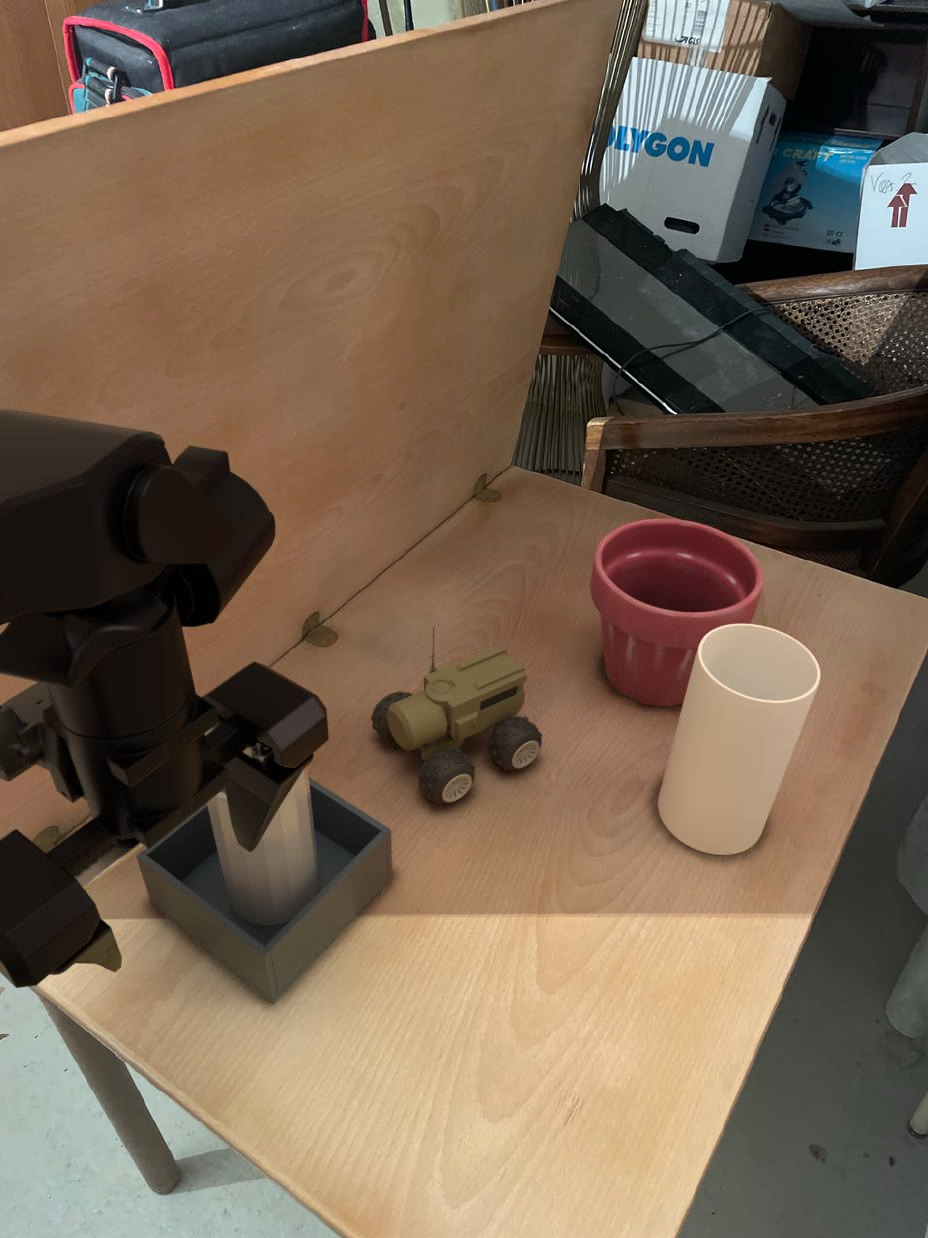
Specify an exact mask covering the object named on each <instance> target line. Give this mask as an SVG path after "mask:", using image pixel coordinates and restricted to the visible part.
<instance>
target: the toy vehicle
mask: <svg viewBox="0 0 928 1238" xmlns="http://www.w3.org/2000/svg"><path fill="white" fill-rule="evenodd" d="M435 657H436V655H435V626H434V627H432V655H431V656H430V659H431V665H430V667H428V673H427V674H425V675H423V690H421V691H419V692H417V693H413V694H412V693H411V692H409V691H407V692H405V691H401V690H399V691H395V692H392V693H389V694H388V695H386V696H384V697H383V698H382V699H381V700H379V701H378V703H377V704H376V705H375V707H374V709H373V711H372V714H371V716H370V718H371V723H372V724H371V727H372V730H375V731H376V732H377V733H376V735H377V736H378V737H379V738H380V739H381V740H384V743H386V744H387V745H390V744H391V745H398V746H399V747H401V748H402V749H404V750H406V751H410V752H411V751H414V750H417V749H418V748H419V750H420V751H421V754H420V757H421V759H422V760H423V763H422V765H421V767H420V768H419V771H418V774H417V777H418V783H417V785H418V786H419V789H422V790H423V794H424V796H425V797H426V798H427V799H428V800H431V801H432V803H433V804H435V805H438V804H439V805H448V804H451V803H454V802H455V801H458V800H459V799H461V798H462V797H464V795H466V794H467V792H468V791H469V790H470V789H471V787H472V786H473V783H474V780H475V777H476V775H475V773H476V772H475V769H476V766H475V765H474V763H471V760H470V757H469V756H468V755H467V754H465V753H464V752H462V750H461V749H460V747H461V745H463V743H464V741H465V739H467V738H469V737H471V736H473V735H476V734H478V733H480V732H482V731H484V730H489V729H491V728H493V729H492V732H491V734H490V735H489V738H488V741H487V748H488V749H487V753H488V755H489V756H491V758H492V760H493V761H494V763H495V764H497V765H498V766H500V768H501V769H502V770H504V771H507V770H508V771H517V770H520V769H522V768H524V767H526V766H528V765H530V764H531V763H532V762H533V761H534V760H535V758H536V757H537V756H538V754H539V753H540V750H541V747H542V743H543V739H542V737H543V734H542V732H541V731H539V728H538V726H537V724H535V723H534V722H531V721H530V719H529V718H528V717H527V716H520V715H518V713H519V712H520V711H521V709H522V707H523V706H524V704H525V697H526V691H525V690H524V684H525V683H526V682H527V681H528V674H527V673H526V669H525V668H524V667H523V666H522V665H520V664H517V663H516V662H515V661H514V660H513V659H511V658H510V656H508V655H507V650H505V648H503V647H502V646H498V645H495V646H493V647H491V648H488V649H486V650H483V651H481V652H478V653H476V654H474V655H473V654H472V655H471V656H469V657H466V658H464V659H461V660H459V661H456V662H454V663H451V664H450V665H447V666H444V667H442V668H440V669H438V668H437V666H435ZM440 738H441V739H440ZM438 739H439V740H438ZM435 740H437V741H435ZM433 741H435V742H433ZM432 742H433V743H432ZM430 743H432V744H431V745H428V746H427V744H430Z"/></svg>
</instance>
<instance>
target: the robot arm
mask: <svg viewBox="0 0 928 1238" xmlns="http://www.w3.org/2000/svg"><path fill="white" fill-rule="evenodd" d="M230 465H231V464H230V459H229V453H228V452H227V451H226V450H220V449H214V448H207V447H201V446H196V445H188V446H187V447H186V448H185V449H184V450H183V451H182V452H180V453H179V455H178V456H177V457H176V458H175V460H173V462H172V459H171V457H170V454H169V452H168V449H167V448H166V441H164V438H163V437H162V435H161V434H158V433H156V432H153V431H150V430H143V429H137V428H130V427H123V426H117V425H111V424H104V423H99V422H93V421H86V420H81V419H80V420H79V419H74V418H68V417H63V416H56V415H55V416H54V415H49V414H42V413H37V412H30V411H23V410H18V409H12V408H0V626H3V625H6V624H7V625H6V626H5V628H4V629H3V630H2V631H1V632H0V675H5V676H9V677H14V678H18V679H23V680H27V681H33V682H36V683H34V684H32V685H31V686H29V687H27V688H25V689H24V690H22V691H20V692H19V693H17V694H16V695H14V696H12V697H11V698H9V699H7V700H6V701H5V702H3V703H2V704H0V779H1V780H2V781H5V782H11V781H13V780H15V779H16V778H17V777H19V776H20V775H22V774H24V773H26V771H28V770H30V769H31V768H32V767H34V766H38V767H40V768H42V769H45V770H47V771H49V774H50V776H51V779H52V781H53V785H54V787H55V790H56V792H57V793H59V794H60V795H61V796H62V797H64V798H65V799H66V800H68V801H69V802H70V803H72V804H75V803H76V802H77V801H78V800H80V799H81V798H82V799H84V800H85V801H86V804H87V807H88V810H89V813H90V815H91V817H92V819H91V820H89V821H88V822H86V823H85V824H84V825H83V826H81V827H80V828H79V829H76V831H75V832H73V833H72V834H70V835H69V836H68V837H66V838H65V839H64V840H62V841H61V842H60V843H58V844H57V845H55V846H54V847H53V848H51V849H50V850H49V851H47V852H45V851H43V849H41V848H40V847H39V846H38V845H37V844H36V843H34V842H33V841H32V840H30V839H29V838H28V837H27V836H25V834H23V833H22V832H21V831H20V830H19V829H17V828H16V829H14V830H11V831H9V832H7V833H6V834H5V835H3V836H2V837H1V838H0V974H1V975H2V976H3V977H4V978H5V979H6V980H7V981H8V982H9V983H11V985H12V986H14V987H15V989H19V988H29V987H35V986H38V985H39V984H40V983H42V982H43V981H44V980H45V979H46V978H47V977H48V976H50V975H52V976H58V975H61V974H63V973H66V971H68V970H69V969H70V968H71V967H72V966H74V965H76V964H82V965H83V964H84V965H85V964H87V965H91V964H92V965H96V966H97V965H98V966H99V967H102V968H104V969H106V970H108V971H110V972H112V973H117V972H118V971H119V970H120V969H121V968H122V964H123V963H122V962H123V957H122V954H121V951H120V948H119V946H118V943H117V940H116V937H115V933H114V931H113V929H112V927H111V926H110V924H108V923H107V922H106V921H105V920H103V919H102V917H101V915H100V912H99V910H98V907H97V904H96V903H95V901H94V900H93V899H92V897H91V896H90V895H89V894H88V891H89V890H90V889H92V888H93V887H94V886H95V885H96V884H98V883H99V882H100V881H101V880H103V879H104V878H105V877H106V876H107V875H109V874H110V873H111V872H113V871H114V870H115V869H116V868H117V867H119V866H120V865H121V864H122V863H124V862H125V861H127V860H128V859H129V858H130V857H131V856H133V855H134V854H135V853H136V852H138V851H139V850H140V849H142V847H146V848H148V849H150V848H151V847H152V846H154V845H155V844H156V843H157V842H159V841H160V840H161V839H162V838H164V837H165V836H166V835H167V834H169V833H170V832H171V831H172V830H174V829H175V828H176V827H177V826H179V825H180V824H181V823H182V822H183V821H185V820H186V819H187V818H188V817H190V816H191V815H192V814H193V813H195V812H196V811H197V810H198V809H200V808H201V807H202V806H203V805H205V804H206V803H207V802H208V801H210V800H211V799H212V798H213V797H215V796H216V795H217V794H218V793H220V792H221V791H222V790H223V789H225V792H226V797H227V803H228V808H229V813H230V819H231V824H232V828H233V831H234V833H235V836H236V839H237V842H238V844H239V845H240V846H242V847H243V848H244V849H246V850H247V851H249V852H252V851H253V850H254V849H255V848H256V847H257V845H258V843H259V842H260V840H261V838H262V836H263V835H264V833H265V831H266V830H267V828H268V826H269V824H270V823H271V821H272V819H273V817H274V816H275V814H276V812H277V811H278V809H279V807H280V806H281V804H282V802H283V801H284V799H285V798H286V796H287V795H288V793H289V792H290V790H291V788H292V787H293V785H294V784H295V782H296V781H297V779H298V778H299V776H300V775H301V773H302V771H303V770H304V769H305V768H306V767H308V766H309V765H310V764H311V763H312V762H313V760H314V757H315V756H314V755H315V754H314V753H315V752H316V751H318V750H319V749H320V748H321V747H322V746H323V745H324V744H326V743H327V742H328V741H329V740H330V737H329V722H328V721H329V720H328V711H327V707H326V705H325V704H324V702H323V701H322V700H321V698H320V697H319V695H317V694H316V693H314V692H312V691H310V690H309V689H307V688H306V687H304V686H302V685H300V684H299V683H297V682H295V681H293V680H292V679H290V678H288V677H287V676H285V675H283V674H281V673H280V672H278V671H276V670H274V669H273V668H272V667H270V666H267V664H263V663H261V662H258V661H252V662H251V663H249V664H247V665H245V666H244V667H242V668H241V669H240V670H238V671H237V672H235V673H234V674H232V675H231V676H230V677H228V678H227V679H225V680H224V681H222V682H221V683H219V684H218V685H216V686H215V687H214V688H212V689H210V691H208V692H207V693H205V694H204V695H202V696H201V695H199V694H197V692H196V686H195V682H194V677H193V673H192V668H191V663H190V658H189V652H188V649H187V643H186V639H185V634H184V630H183V628H197V627H202V626H206V625H208V624H209V625H211V624H214V623H215V622H216V621H217V620H218V618H219V616H220V615H221V614H222V613H223V611H224V610H225V609H226V608H227V606H228V605H229V604H230V602H231V601H232V599H233V598H234V597H235V595H236V594H237V593H238V591H239V590H240V589H241V587H242V586H243V584H245V582H246V580H248V578H249V577H250V575H251V574H252V573H253V572H254V570H255V569H256V567H257V566H258V565H259V564H260V563H261V561H262V560H263V558H264V557H265V556H266V555H267V553H268V552H269V551H270V549H271V547H272V545H273V544H274V540H275V538H276V527H277V526H276V524H277V523H276V520H275V515H274V513H272V511H270V510H269V507H268V505H267V503H266V502H265V500H264V499H263V497H262V496H261V494H260V493H259V492H258V491H257V489H255V488H254V487H253V486H252V485H251V484H250V483H249V481H247V480H245V479H244V478H242V477H240V476H239V475H237V474H236V473H234V472H233V471H231V466H230Z"/></svg>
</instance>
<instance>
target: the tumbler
mask: <svg viewBox="0 0 928 1238" xmlns="http://www.w3.org/2000/svg"><path fill="white" fill-rule="evenodd" d="M308 768H309V767H308V766H307V767H306V768H305V769H304V770H303V771H302V773H301V775H300V776H299V778H298V779H297V781H296V782H295V784H294V785H293V787H292V788H291V790H290V792H289V793H288V795H287V796H286V798H285V799H284V801H283V802H282V804H281V806H280V807H279V809H278V811H277V812H276V814H275V816H274V817H273V819H272V821H271V823H270V824H269V826H268V828H267V830H266V831H265V833H264V835H263V836H262V838H261V840H260V842H259V843H258V845H257V847H256V848H255V849H254V850H253V851H252V852H249V851H247V850H246V849H244V848H243V847H242V846H240V845H239V844H238V842H237V839H236V836H235V833H234V831H233V828H232V824H231V819H230V813H229V808H228V803H227V797H226V792H225V789H223V790H222V791H221V792H220V793H218V794H217V795H216V796H215V797H213V798H212V799H211V800H210V801H208V802H207V808H208V812H209V817H210V821H211V826H212V830H213V835H214V840H215V844H216V849H217V853H218V858H219V862H220V867H221V871H222V876H223V880H224V885H225V889H226V893H227V897H228V901H229V904H230V906H231V908H232V910H233V911H234V912H235V913H236V914H237V915H238V916H239V917H240V918H242V919H243V920H245V921H247V922H249V923H252V924H255V925H260V926H274V925H279V924H283V923H286V922H289V921H291V920H292V919H293V918H294V917H295V916H296V915H297V914H298V913H299V912H300V911H301V910H302V909H303V908H304V907H305V906H306V905H307V904H308V903H309V902H310V901H311V900H312V899H313V898H314V897H315V896H316V894H317V892H318V887H319V868H318V859H317V850H316V841H315V832H314V822H313V813H312V804H311V795H310V786H309V777H310V776H309V769H308Z"/></svg>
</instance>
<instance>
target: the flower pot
mask: <svg viewBox="0 0 928 1238" xmlns="http://www.w3.org/2000/svg"><path fill="white" fill-rule="evenodd" d="M763 586H764V573H763V569H762V567H761V563H760V562H759V560H758V559H757V557H756V556H755V555H754V553H753V552H752V551H751V550H750V549H749V548H748V547H747V546H746V545H744V544H743V543H742V542H740V541H739V540H738V539H736V538H735V537H733V536H732V535H729V534H728V533H725V532H723V531H721V530H719V529H716V528H715V527H713V526H710V525H707V524H703V523H700V522H695V521H691V520H685V519H678V518H649V519H642V520H637V521H632V522H629V523H625V524H623V525H621V526H618V527H616V528H615V529H613V530H612V531H610V532H609V533H607V534H606V535H605V536H604V537H603V538H602V539H601V540H600V541H599V543H598V545H597V546H596V549H595V553H594V559H593V564H592V570H591V577H590V597H591V599H592V602H593V605H594V606H595V608H596V609H597V611H598V612H599V619H600V621H599V622H600V631H601V642H602V651H603V659H604V669H605V673H606V676H607V679H608V680H609V682H610V683H611V685H612V686H613V687H614V688H615V689H616V690H617V691H618V692H619V693H620V694H622V695H623V696H625V697H626V698H628V699H631V700H632V701H634V702H637V703H640V704H643V705H648V706H652V707H673V706H679V705H681V704H682V705H683V702H684V698H685V695H686V691H687V687H688V683H689V679H690V675H691V672H692V668H693V664H694V660H695V657H696V653H697V649H698V646H699V644H700V642H701V640H702V639H703V637H704V636H705V635H706V634H707V633H709V632H710V631H712V630H714V629H716V628H718V627H721V626H725V625H730V624H752V622H753V619H754V617H755V614H756V611H757V607H758V605H759V601H760V598H761V594H762V591H763Z"/></svg>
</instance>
